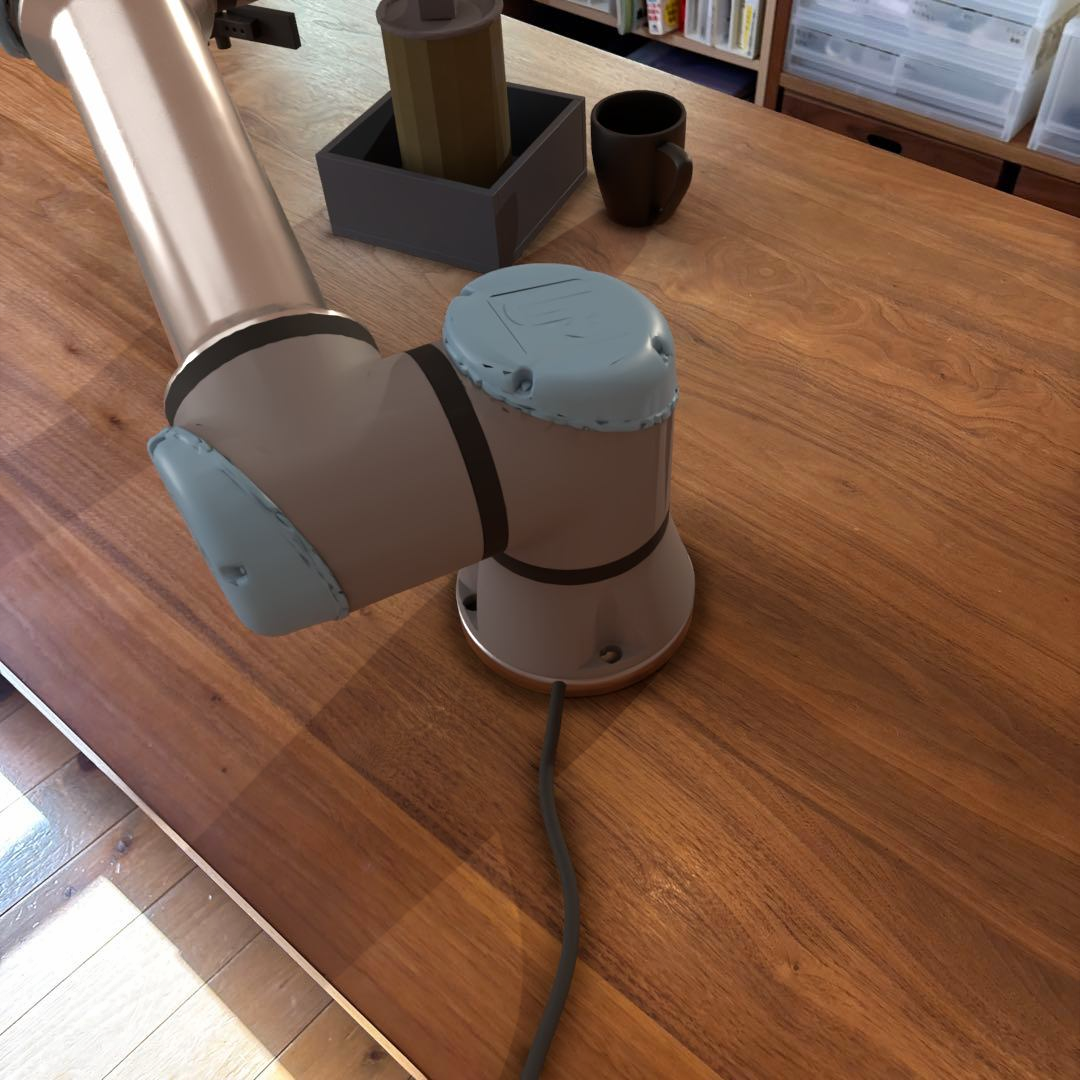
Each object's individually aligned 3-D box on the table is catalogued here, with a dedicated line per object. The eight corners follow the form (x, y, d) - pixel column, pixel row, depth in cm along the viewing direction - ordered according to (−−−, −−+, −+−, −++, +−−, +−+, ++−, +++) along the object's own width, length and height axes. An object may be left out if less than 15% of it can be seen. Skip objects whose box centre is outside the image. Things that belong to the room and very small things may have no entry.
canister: (516, 224, 99) (497, -4, 84) (401, 229, 100) (362, 2, 85) (519, 161, 107) (502, -61, 92) (411, 165, 107) (377, -54, 92)
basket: (500, 278, 96) (492, 195, 90) (332, 234, 102) (314, 154, 96) (587, 176, 106) (585, 96, 100) (429, 142, 112) (418, 64, 106)
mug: (638, 268, 96) (639, 167, 89) (577, 201, 103) (573, 104, 96) (720, 240, 98) (728, 140, 91) (654, 177, 105) (657, 80, 98)
